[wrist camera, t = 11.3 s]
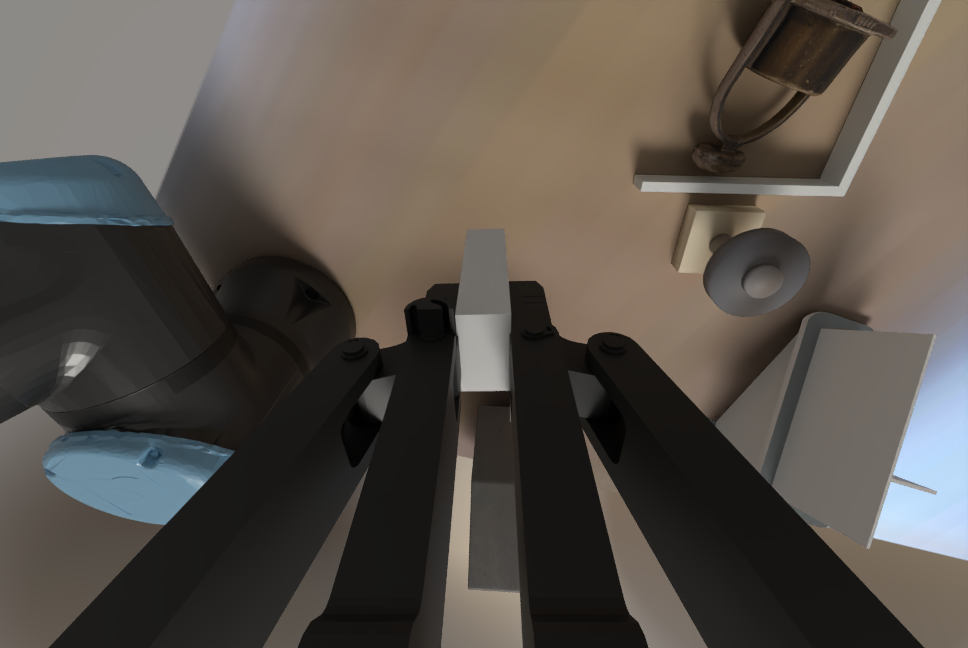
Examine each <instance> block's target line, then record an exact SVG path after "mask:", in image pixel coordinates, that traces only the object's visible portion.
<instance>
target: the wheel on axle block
mask: <svg viewBox="0 0 968 648" xmlns="http://www.w3.org/2000/svg"><path fill="white" fill-rule="evenodd" d="M765 216H766V212H764V211H763V210H761V209H759V208H758V207H756V206H742V205H704V204H688V208H687V211H686V215H685V218H684V221H683V225H682V228H681V232H680V235H679V239H678V242H677V246H676V249H675V253H674V256H673V259H672V263H671V264H672V265H673V266H674V268H675V269H676V270H677V272H680V273H704V275H703V284H704V288H705V291H706V293H707V294H708V296H709V297H710V298H711V299H712V300H713V302H714V303H715V304H716V305H717V306H718V307H719V308H720V309H721V310H722V311H724V312H726V313H728V314H730V315H734V316H740V317H751V316H757V315H761V314H765V313H768V312H770V311H773V310H775V309H777V308H778V307H780V306H782V305H783V304H785V303H786V302H788V301H789V300H790V299H791V298H792V297H793V296H795V294H796V293H797V292H798V291H799V290H800V289H801V287H802V286H803V284H804V283H805V281H806V279H807V276H808V273H809V270H810V258H809V254H808V252H807V250H806V249H805V247H804V246H803V245H802V244H801V243H800V242H798V241H797V240H795V239H794V238H792V237H790V236H789V235H787V234H786V233H784V232H782V231H780V230H777V229H772V228H761V226H762V223H763V221H764V218H765Z"/></svg>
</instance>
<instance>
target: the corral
mask: <svg viewBox="0 0 968 648" xmlns="http://www.w3.org/2000/svg"><path fill="white" fill-rule="evenodd" d="M940 2H941V0H900V3H899V5H898V7H897V9H896V11H895V14H894V16H893V18H892V20H891V22H890V25H891V26H894V27H896V28H898V31H897V33H896V35H895V37H893V38H892V39H887V38H883V40H882V42H881V44H880V47H879V49H878V51H877V53H876V55H875V58H874V60H873V62H872V64H871V67H870V69H869V71H868V73H867V75H866V78H865V80H864V82H863V84H862V86H861V89H860V91H859V93H858V95H857V97H856V100H855V102H854V104H853V106H852V108H851V111H850V113H849V115H848V117H847V119H846V122H845V124H844V126H843V128H842V131H841V133H840V135H839V137H838V139H837V142H836V144H835V146H834V148H833V150H832V153H831V155H830V157H829V159H828V161H827V164H826V166H825V168H824V170H823V172H822V175H821V177H820V179H800V178H758V177H716V176H674V175H635V178H634V183H633V184H634V185H635V186H636V187H637V188H638V189H639V190H640V191H646V192H685V193H725V194H764V195H804V196H843V197H844V195H845V193H846V191H847V189H848V187H849V185H850V183H851V181H852V179H853V177H854V175H855V173H856V171H857V169H858V167H859V165H860V163H861V161H862V159H863V157H864V155H865V153H866V151H867V149H868V147H869V145H870V143H871V141H872V139H873V137H874V135H875V133H876V131H877V129H878V127H879V125H880V123H881V121H882V119H883V117H884V115H885V113H886V111H887V109H888V107H889V105H890V103H891V101H892V99H893V97H894V95H895V93H896V91H897V89H898V87H899V85H900V83H901V81H902V79H903V77H904V75H905V73H906V71H907V69H908V67H909V65H910V63H911V61H912V59H913V57H914V55H915V53H916V51H917V49H918V47H919V45H920V42H921V40H922V38H923V36H924V34H925V32H926V30H927V28H928V26H929V24H930V22H931V20H932V18H933V16H934V14H935V12H936V10H937V8H938V6H939V4H940Z"/></svg>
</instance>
